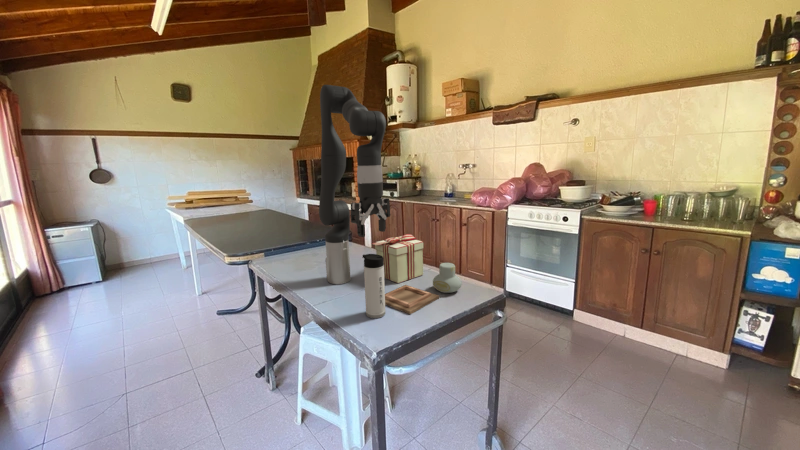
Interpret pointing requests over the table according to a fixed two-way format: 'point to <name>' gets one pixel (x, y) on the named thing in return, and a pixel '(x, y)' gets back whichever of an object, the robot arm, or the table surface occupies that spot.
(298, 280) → the table surface
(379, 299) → the travel mug
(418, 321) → the table surface
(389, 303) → the tan square plate
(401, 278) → the gift box
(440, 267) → the air freshener
